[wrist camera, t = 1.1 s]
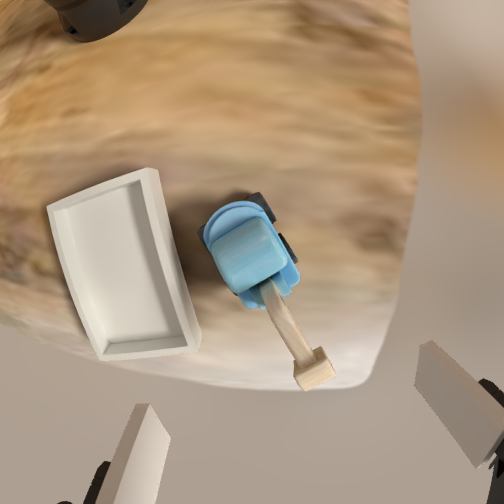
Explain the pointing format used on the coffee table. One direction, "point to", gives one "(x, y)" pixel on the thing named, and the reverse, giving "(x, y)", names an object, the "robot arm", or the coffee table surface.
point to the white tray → (125, 268)
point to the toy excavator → (263, 276)
